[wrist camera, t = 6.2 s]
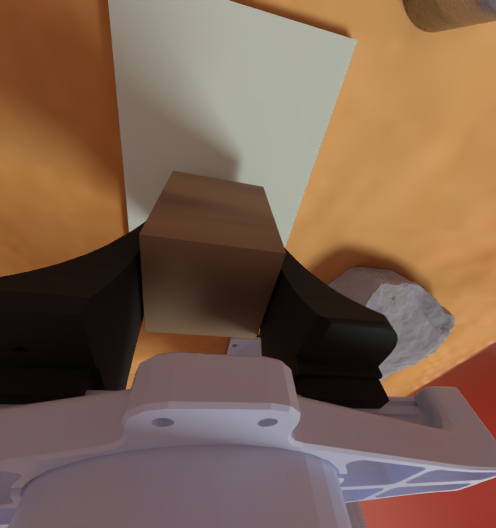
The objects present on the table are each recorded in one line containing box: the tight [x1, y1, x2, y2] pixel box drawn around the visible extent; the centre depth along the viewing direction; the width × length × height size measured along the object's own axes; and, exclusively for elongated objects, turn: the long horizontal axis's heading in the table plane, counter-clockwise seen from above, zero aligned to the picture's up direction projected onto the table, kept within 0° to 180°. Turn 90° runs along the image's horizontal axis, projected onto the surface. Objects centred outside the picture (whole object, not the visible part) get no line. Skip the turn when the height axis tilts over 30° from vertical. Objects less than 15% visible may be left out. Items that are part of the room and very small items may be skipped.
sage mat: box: [108, 0, 358, 248], centre depth 15 cm, size 18×10×1 cm, turn 168°
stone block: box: [328, 267, 455, 381], centre depth 22 cm, size 12×5×10 cm
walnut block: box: [139, 171, 286, 339], centre depth 11 cm, size 4×4×6 cm
